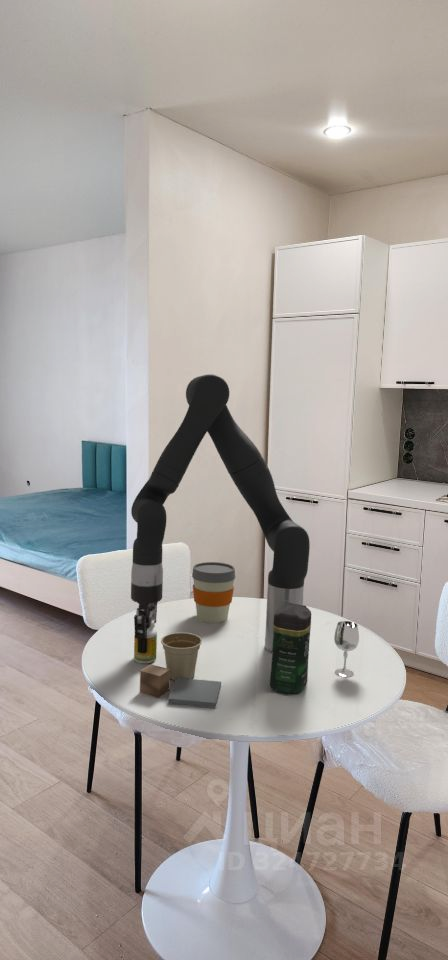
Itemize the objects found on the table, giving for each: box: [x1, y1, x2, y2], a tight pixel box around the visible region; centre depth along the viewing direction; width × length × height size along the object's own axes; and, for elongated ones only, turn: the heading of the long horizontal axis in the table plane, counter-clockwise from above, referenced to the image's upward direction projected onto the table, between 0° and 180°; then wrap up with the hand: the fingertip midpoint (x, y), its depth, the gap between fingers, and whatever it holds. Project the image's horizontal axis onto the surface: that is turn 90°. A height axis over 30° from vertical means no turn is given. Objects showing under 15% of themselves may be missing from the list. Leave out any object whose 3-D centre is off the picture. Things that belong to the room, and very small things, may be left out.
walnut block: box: [139, 663, 171, 699], centre depth 138 cm, size 5×4×5 cm
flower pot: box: [160, 632, 203, 682], centre depth 146 cm, size 9×9×9 cm
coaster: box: [167, 678, 222, 709], centre depth 137 cm, size 10×10×1 cm
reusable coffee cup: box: [191, 561, 236, 624], centre depth 185 cm, size 13×13×15 cm
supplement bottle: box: [133, 620, 158, 664], centre depth 154 cm, size 5×5×10 cm
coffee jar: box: [269, 603, 312, 696], centre depth 141 cm, size 10×8×19 cm
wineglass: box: [333, 620, 360, 678], centre depth 150 cm, size 6×6×12 cm
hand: (145, 647), depth 154 cm, fingers closed on supplement bottle, 5 cm apart
